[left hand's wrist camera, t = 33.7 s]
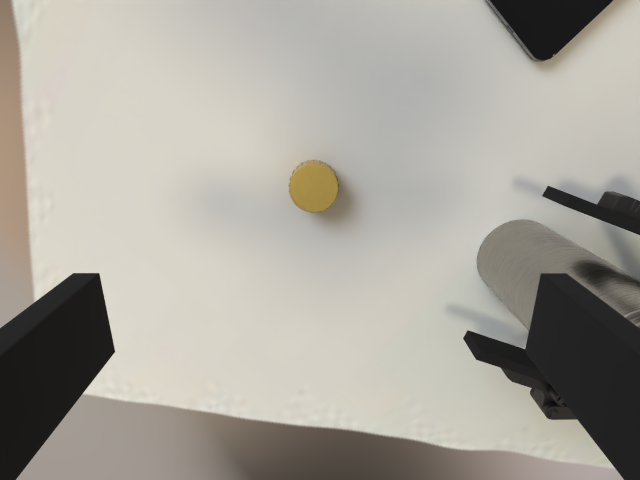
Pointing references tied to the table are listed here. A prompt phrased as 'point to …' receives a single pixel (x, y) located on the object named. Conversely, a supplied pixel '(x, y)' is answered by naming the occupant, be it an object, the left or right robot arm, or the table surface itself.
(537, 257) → the bottle
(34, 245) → the table surface
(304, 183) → the cap
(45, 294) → the left robot arm
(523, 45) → the smartphone
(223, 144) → the table surface
